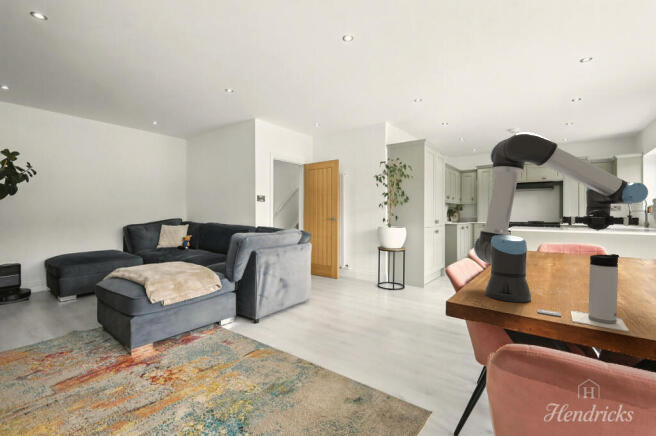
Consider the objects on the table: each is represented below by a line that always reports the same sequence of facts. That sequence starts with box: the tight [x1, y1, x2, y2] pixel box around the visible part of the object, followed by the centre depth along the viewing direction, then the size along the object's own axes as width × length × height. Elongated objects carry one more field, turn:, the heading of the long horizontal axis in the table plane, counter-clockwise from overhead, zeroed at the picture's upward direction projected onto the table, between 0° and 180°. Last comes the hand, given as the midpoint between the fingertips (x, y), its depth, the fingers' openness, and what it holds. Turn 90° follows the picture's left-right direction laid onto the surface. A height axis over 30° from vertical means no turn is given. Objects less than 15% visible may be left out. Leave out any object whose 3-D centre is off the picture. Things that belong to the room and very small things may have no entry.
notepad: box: [570, 310, 630, 332], centre depth 91 cm, size 12×12×1 cm
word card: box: [537, 308, 562, 318], centre depth 97 cm, size 6×4×1 cm, turn 53°
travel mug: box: [587, 253, 620, 324], centre depth 90 cm, size 6×7×20 cm
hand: (598, 220), depth 102 cm, fingers open, 13 cm apart
